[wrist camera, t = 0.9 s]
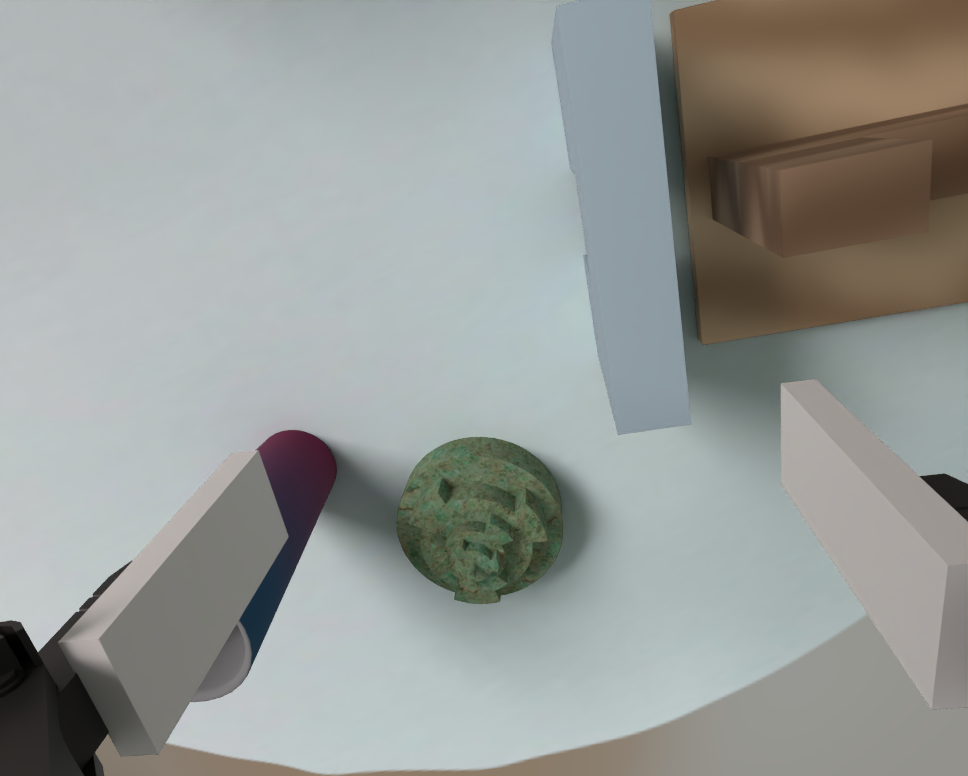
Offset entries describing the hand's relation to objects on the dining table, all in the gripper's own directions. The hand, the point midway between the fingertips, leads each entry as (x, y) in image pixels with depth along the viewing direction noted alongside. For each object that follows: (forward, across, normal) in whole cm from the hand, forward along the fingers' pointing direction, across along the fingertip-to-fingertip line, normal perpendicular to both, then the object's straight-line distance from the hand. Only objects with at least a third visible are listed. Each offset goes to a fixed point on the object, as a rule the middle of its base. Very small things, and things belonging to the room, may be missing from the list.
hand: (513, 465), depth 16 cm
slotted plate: (+20, +5, +3) cm, 21 cm away
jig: (+20, +17, +4) cm, 26 cm away
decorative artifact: (+21, -5, -14) cm, 25 cm away
